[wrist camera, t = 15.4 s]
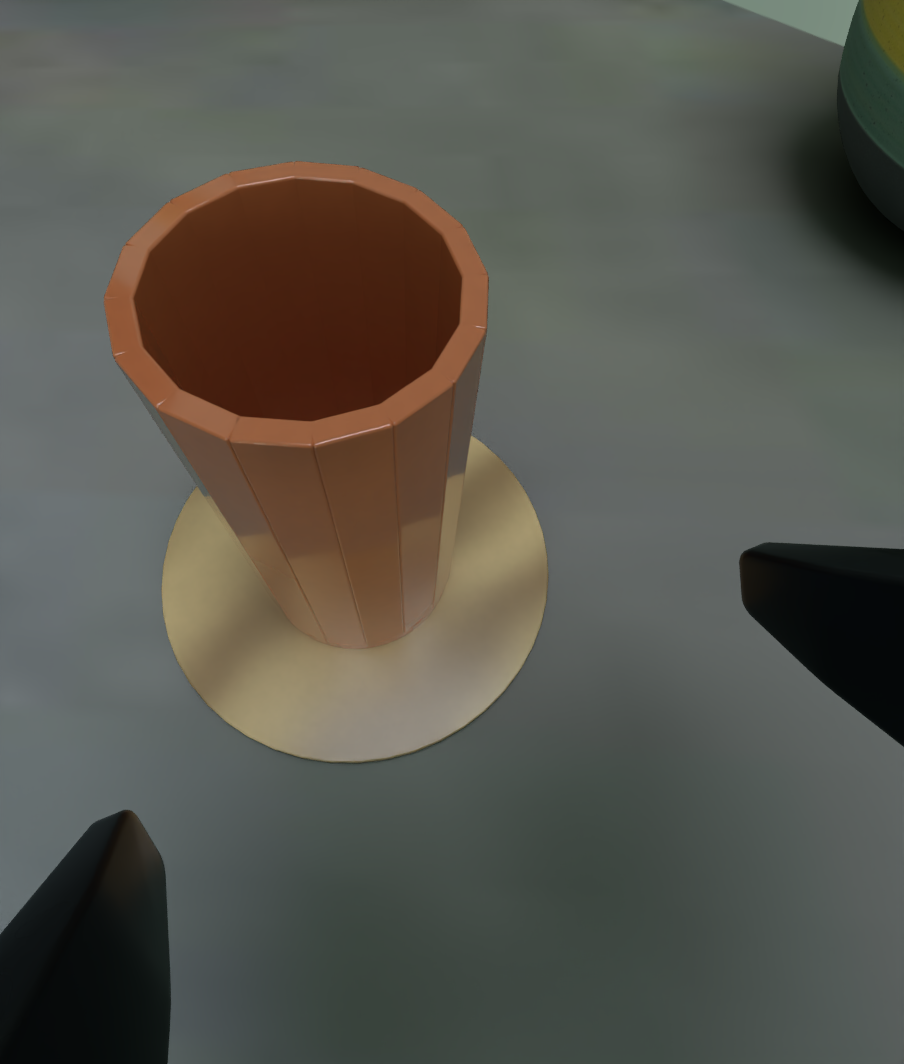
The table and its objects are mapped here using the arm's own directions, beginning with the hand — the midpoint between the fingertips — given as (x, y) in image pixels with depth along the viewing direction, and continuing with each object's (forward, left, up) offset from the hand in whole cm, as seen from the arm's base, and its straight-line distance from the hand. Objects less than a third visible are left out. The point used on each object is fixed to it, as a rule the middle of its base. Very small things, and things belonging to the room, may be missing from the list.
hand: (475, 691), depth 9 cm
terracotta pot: (+7, -3, -13) cm, 15 cm away
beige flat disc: (+7, -3, -13) cm, 15 cm away
